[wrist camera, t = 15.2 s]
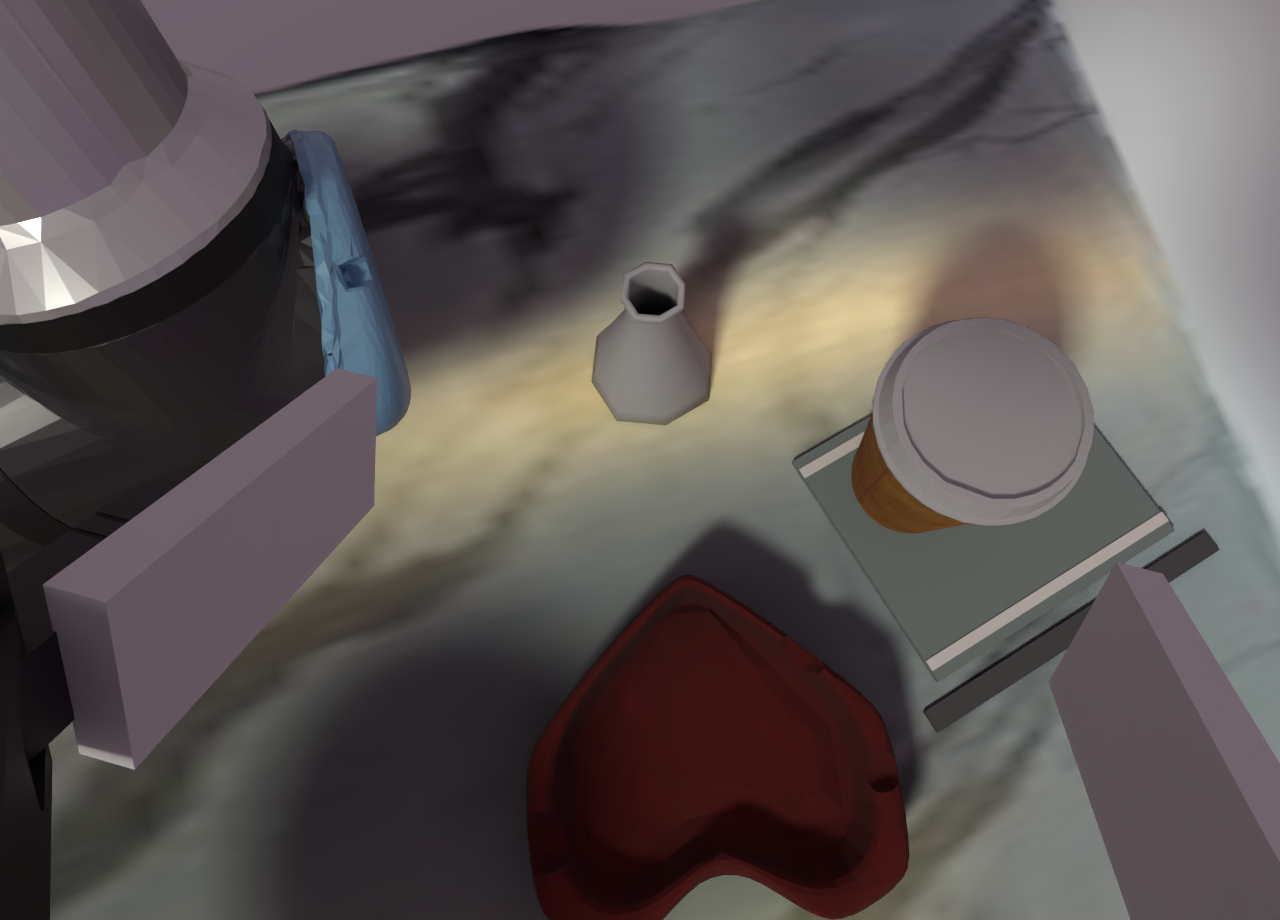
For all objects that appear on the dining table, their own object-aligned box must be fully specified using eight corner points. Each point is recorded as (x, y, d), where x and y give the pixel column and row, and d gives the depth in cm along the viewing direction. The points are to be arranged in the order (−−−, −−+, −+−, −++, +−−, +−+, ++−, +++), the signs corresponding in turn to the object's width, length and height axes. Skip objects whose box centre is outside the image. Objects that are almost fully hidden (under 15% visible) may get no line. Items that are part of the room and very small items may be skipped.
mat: (791, 462, 48) (793, 460, 48) (1016, 332, 50) (1020, 329, 50) (936, 681, 45) (939, 681, 44) (1170, 531, 47) (1176, 529, 47)
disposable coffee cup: (983, 400, 49) (1091, 309, 37) (999, 564, 46) (1119, 522, 35) (818, 397, 49) (874, 305, 37) (824, 561, 46) (887, 517, 35)
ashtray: (841, 567, 47) (863, 551, 42) (899, 889, 42) (931, 912, 38) (521, 603, 46) (506, 591, 42) (544, 932, 42) (531, 961, 37)
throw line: (922, 711, 44) (924, 711, 44) (1202, 532, 47) (1205, 531, 47) (936, 732, 44) (937, 732, 44) (1216, 550, 47) (1219, 549, 46)
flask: (579, 328, 51) (564, 240, 41) (695, 303, 51) (708, 210, 42) (604, 440, 49) (595, 375, 39) (726, 413, 49) (746, 342, 40)
